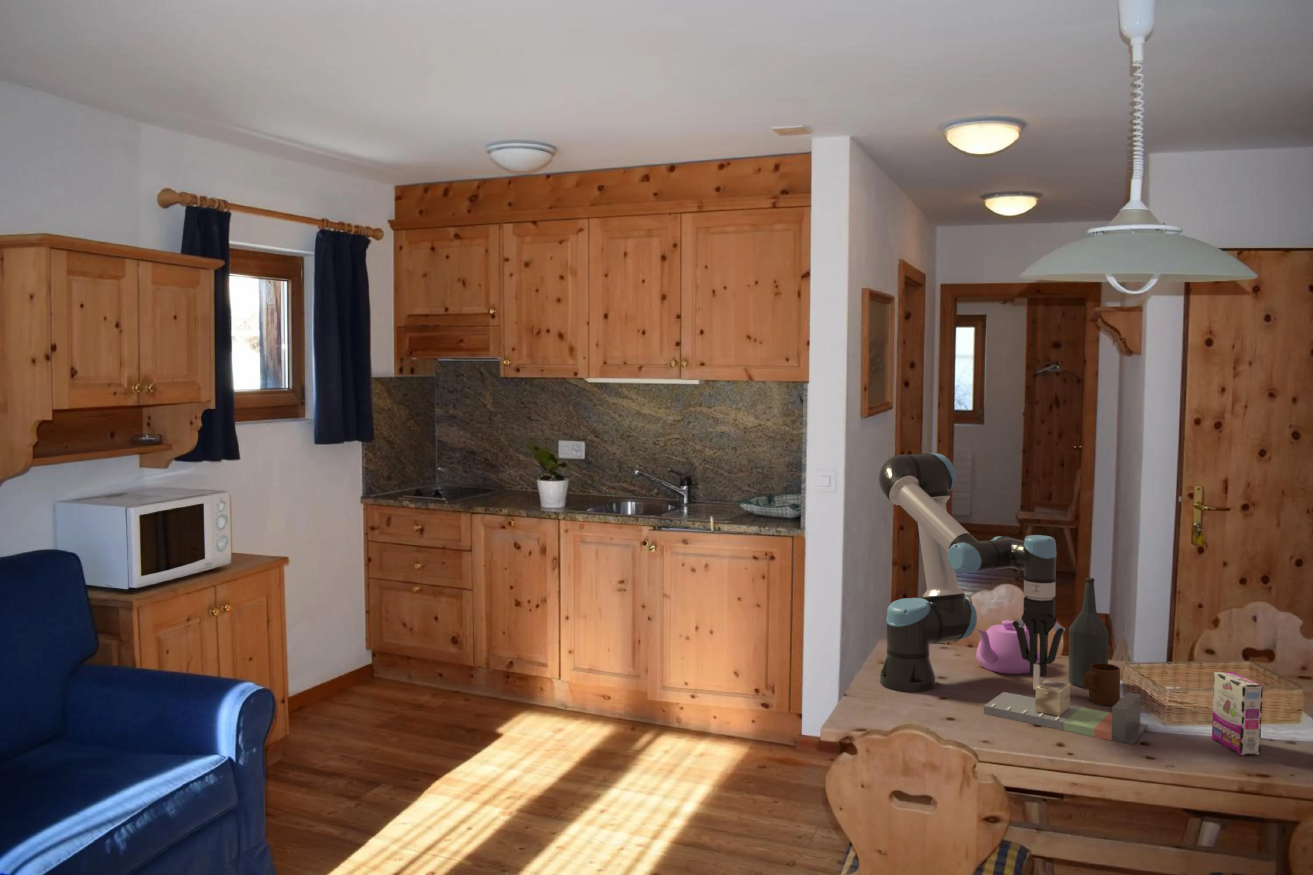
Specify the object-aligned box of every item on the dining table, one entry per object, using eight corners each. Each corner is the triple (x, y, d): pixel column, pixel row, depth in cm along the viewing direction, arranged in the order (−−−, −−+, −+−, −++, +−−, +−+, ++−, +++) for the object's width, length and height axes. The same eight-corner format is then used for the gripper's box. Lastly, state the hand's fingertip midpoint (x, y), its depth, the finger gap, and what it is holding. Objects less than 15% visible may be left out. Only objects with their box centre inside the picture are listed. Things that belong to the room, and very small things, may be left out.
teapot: (1006, 653, 317) (1007, 609, 316) (1057, 667, 303) (1058, 621, 302) (953, 667, 303) (953, 622, 302) (1003, 682, 288) (1004, 634, 287)
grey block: (1111, 740, 244) (1112, 707, 243) (1127, 723, 255) (1127, 692, 254) (1132, 744, 241) (1133, 711, 240) (1147, 727, 252) (1148, 695, 251)
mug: (1096, 711, 264) (1097, 675, 263) (1071, 702, 271) (1071, 668, 270) (1126, 703, 270) (1126, 668, 269) (1100, 695, 277) (1101, 661, 276)
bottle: (1090, 676, 293) (1092, 573, 290) (1115, 687, 283) (1118, 580, 281) (1060, 680, 289) (1062, 575, 287) (1084, 691, 280) (1087, 582, 278)
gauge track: (983, 713, 263) (983, 704, 263) (1003, 699, 274) (1003, 690, 274) (1111, 740, 244) (1111, 730, 244) (1127, 723, 255) (1127, 714, 255)
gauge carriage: (1032, 713, 256) (1033, 688, 256) (1045, 702, 264) (1046, 679, 264) (1057, 718, 253) (1057, 693, 252) (1069, 707, 260) (1070, 683, 260)
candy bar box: (1261, 755, 234) (1264, 685, 232) (1241, 756, 233) (1243, 685, 232) (1230, 737, 245) (1232, 670, 244) (1210, 738, 244) (1212, 671, 243)
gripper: (1008, 596, 260) (1007, 687, 262) (1061, 603, 252) (1059, 697, 254) (1018, 591, 266) (1017, 680, 268) (1070, 597, 258) (1068, 689, 260)
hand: (1037, 688), depth 261 cm, fingers closed
